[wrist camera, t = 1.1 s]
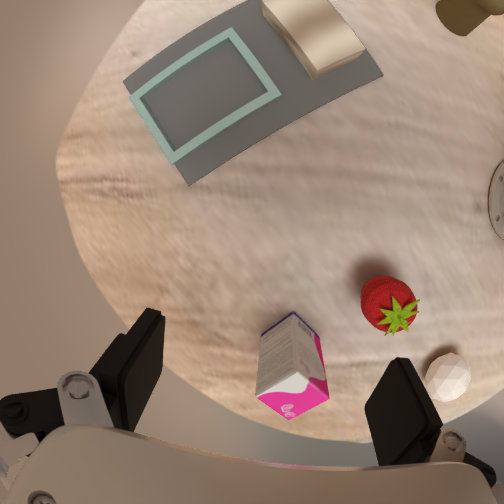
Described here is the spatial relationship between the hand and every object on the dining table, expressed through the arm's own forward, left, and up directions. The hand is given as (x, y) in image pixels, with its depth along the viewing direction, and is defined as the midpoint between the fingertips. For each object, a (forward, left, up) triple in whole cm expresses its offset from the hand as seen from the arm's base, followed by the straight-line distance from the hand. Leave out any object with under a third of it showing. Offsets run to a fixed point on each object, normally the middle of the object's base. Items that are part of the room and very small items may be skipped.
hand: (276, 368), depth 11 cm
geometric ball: (-12, +33, -24) cm, 43 cm away
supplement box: (+6, +14, -24) cm, 29 cm away
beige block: (-15, -17, -24) cm, 33 cm away
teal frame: (-1, -17, -24) cm, 30 cm away
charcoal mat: (-7, -17, -24) cm, 30 cm away
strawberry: (-7, +13, -24) cm, 29 cm away
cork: (-37, -13, -24) cm, 46 cm away
